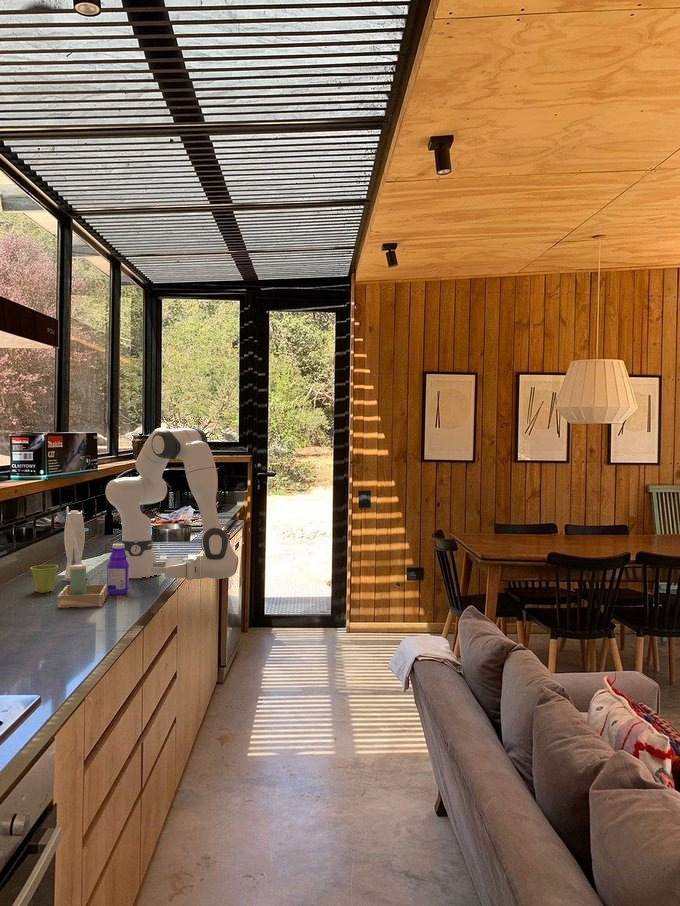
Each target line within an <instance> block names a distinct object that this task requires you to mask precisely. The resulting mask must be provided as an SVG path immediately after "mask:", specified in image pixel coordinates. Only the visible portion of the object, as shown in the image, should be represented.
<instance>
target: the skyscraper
mask: <svg viewBox="0 0 680 906" xmlns="http://www.w3.org/2000/svg"><path fill="white" fill-rule="evenodd" d="M63 530H64V533H63V534H64V535H63V536H64V539H63V541H64V542H63V543H64V549H65V555H66V559H67V561H66V566H65V567H66V568H65V573H64V577H63V579H60V581H61V582H66V581H70V566H72V565H83V562H82V556H83V553H84V547H85V542H86V541H85V538H86V537H85V536H86V533H85V532H86V531H85V530H86V529H85V522H84V517H83V510H80V511H79V510H70V511H69V506H66V517H65V521H64V529H63ZM86 579H89V578H87V577H86Z"/></svg>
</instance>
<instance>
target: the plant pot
mask: <svg viewBox="0 0 680 906" xmlns="http://www.w3.org/2000/svg"><path fill="white" fill-rule="evenodd" d="M58 568H59V565H57V564H39V565H34V566H31V567H30V568H29V569H30V570H31V574H32V578H33V583H34V590H35V593H42V594H43V593H49V592H53V591H54V590H55V583H56V577H57V576H56V575H57V571H58Z"/></svg>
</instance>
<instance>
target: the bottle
mask: <svg viewBox="0 0 680 906" xmlns="http://www.w3.org/2000/svg"><path fill="white" fill-rule="evenodd" d="M111 549H112V551H111V554H110V556H109V558H110V559H109V561H108V564H107V573H106V574H107V577H106V578H107V579H106V580H107V581H106V582H107V583H106V584H108V595H125V593H126V594H127V593H128V592H129V588H130V587H129V586H130V585H129V584H130V578H129V564H128V562H127V560H126V558H127V556H126V554H125V546H124V544H121V543H113V544H112V548H111Z"/></svg>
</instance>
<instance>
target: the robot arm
mask: <svg viewBox="0 0 680 906" xmlns="http://www.w3.org/2000/svg"><path fill="white" fill-rule="evenodd" d="M208 442H209V440H208V437H207V435H206V433H205V431H203V430H201V429H200V428H199V429H198V428H195V427H193V428H186V427H181V428H180V427H179V428H171V429H168V428H165V427H158V428H156V429H154V430H153V431H152V432H151V433H150V435H149V437H148V438H147V439H146V441H145V442H144V444H143V446H142V448H141V449H140V452H139V454H138V456H137V458H136V460H135V464H134V465H135V468H136V471H137V473H139V475H138V476H131V477H129V476H126V477H119V478H115V479H112V480H110V481H109V482H107V484H106V487H105V490H104V491H105V497H106V499H107V501H108V502H109V503H110V505H112V506H113V507H114V508H115V509H116V511H117V512H118V514H119V517H120V521H121V533H122V535H121V536H122V539H121V542H120V544H124V546H125V554H126V556H127V558H126V560H127V562H128V564H129V579H143V578H142V577H146V578H150V576H152V577H155V576H154V575H157V576H162V574H163V575H164V577H166V578H168V579H169V578H170V579H186V580H187V581H191V580H202V579H203V580H204V579H206V578H207V579H213V580H216V579H217V580H219V579H226V578H228V579H229V578H233V576H235V574H236V573H237V570H238V564H239V556H238V555H237V554H236V552H235V551H234V549H233V547H232V544H231V542H230V539H229V536H228V534H227V533H226V531H225V530H224V529H222V527H221V524H220V518H219V515H218V509H217V501H216V500H217V494H218V493H217V492H218V488H219V487H218V485H219V483H218V481H219V480H218V472H217V468H216V467H217V466H216V462H215V459H214V455H213V453H212V450H211V447H210V446H209V444H208ZM175 459H179V460H181V461H182V463H183V466H184V471H185V477H186V480H187V484H188V487H189V489H190V492H191V494H192V496H193V498H194V500H195V501H196V503H197V507H198V509H199V514H200V520H201V524H202V536H201V541H200V547H201V549H202V552H203V553H198V554H197V553H194V554H193V553H191V554H189V553H188V554H187V555H186V556H187V557H168V558H167V557H166V561H159V562H157V554H156V552H154V551H153V539H152V521H151V519H150V517H148V515H146V514H145V513H143V512H142V510H141V505H152V504H156V503H159V502H161V501H163V500H165V498H166V497H167V494H168V486H167V483H166V481H165V480H164V479H163V473H164V472H165V469H166V468H167V465H168V463H169V461H170V460H173V461H174V460H175Z"/></svg>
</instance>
